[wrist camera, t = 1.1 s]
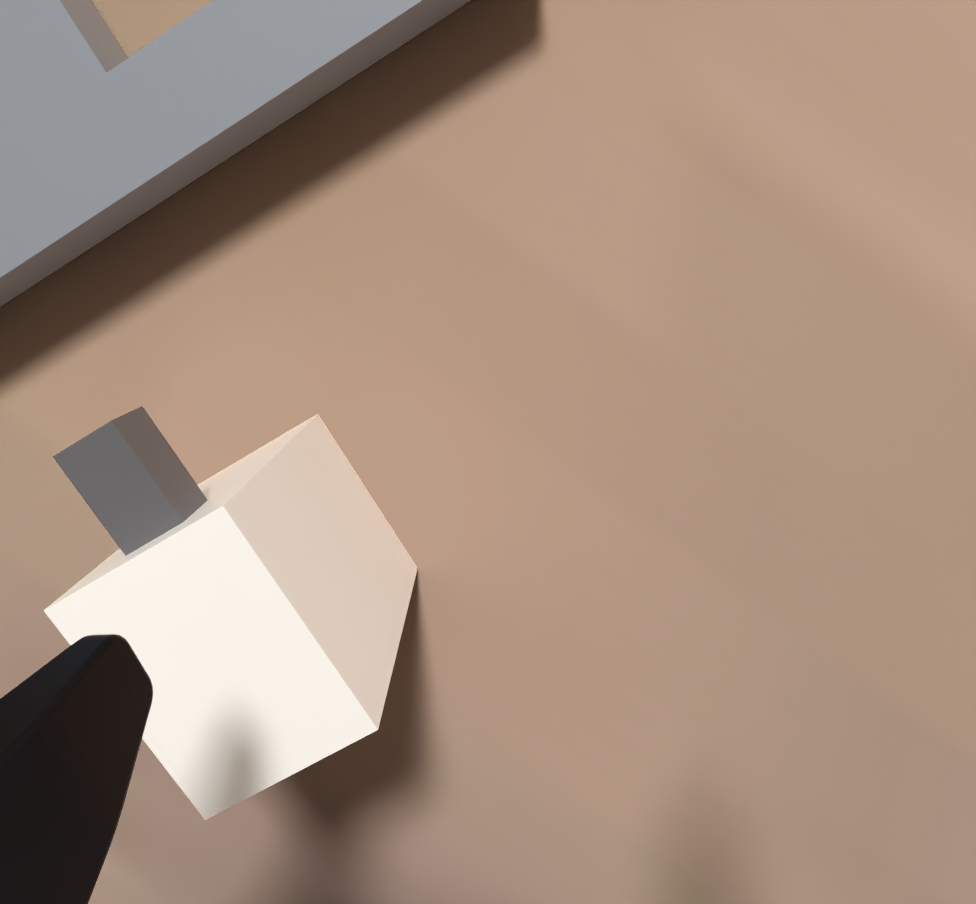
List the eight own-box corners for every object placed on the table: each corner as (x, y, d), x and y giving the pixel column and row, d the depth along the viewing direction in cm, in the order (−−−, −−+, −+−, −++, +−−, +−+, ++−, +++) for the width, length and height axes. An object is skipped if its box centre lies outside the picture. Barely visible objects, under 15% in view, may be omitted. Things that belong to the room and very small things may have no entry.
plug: (299, 633, 21) (205, 819, 14) (147, 415, 20) (-37, 507, 13) (417, 568, 21) (378, 729, 14) (270, 340, 19) (146, 395, 13)
